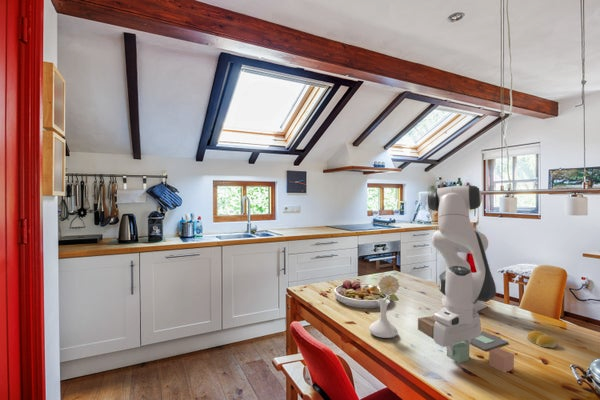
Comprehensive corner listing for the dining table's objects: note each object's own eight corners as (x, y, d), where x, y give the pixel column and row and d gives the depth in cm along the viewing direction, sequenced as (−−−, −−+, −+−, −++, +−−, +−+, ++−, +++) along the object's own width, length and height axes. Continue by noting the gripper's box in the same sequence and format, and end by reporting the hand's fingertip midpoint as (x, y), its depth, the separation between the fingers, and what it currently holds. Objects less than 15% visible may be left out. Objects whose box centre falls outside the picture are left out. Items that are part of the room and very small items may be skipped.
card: (483, 332, 126) (483, 330, 126) (508, 343, 117) (508, 341, 117) (460, 339, 120) (460, 337, 120) (484, 351, 111) (484, 348, 111)
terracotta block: (498, 361, 104) (498, 347, 104) (513, 369, 100) (514, 354, 100) (488, 365, 102) (489, 350, 102) (504, 373, 98) (504, 357, 98)
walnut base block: (433, 327, 131) (433, 316, 131) (447, 335, 124) (447, 323, 124) (417, 329, 129) (418, 318, 129) (431, 338, 121) (431, 326, 121)
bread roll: (548, 350, 113) (548, 340, 112) (523, 339, 121) (523, 329, 121) (562, 346, 115) (562, 336, 115) (537, 336, 124) (537, 326, 124)
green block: (456, 352, 110) (456, 339, 110) (469, 359, 106) (469, 345, 105) (446, 355, 108) (447, 342, 108) (459, 363, 103) (459, 348, 103)
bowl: (402, 303, 161) (403, 288, 161) (362, 315, 144) (363, 298, 144) (361, 288, 186) (361, 275, 186) (323, 297, 169) (323, 283, 169)
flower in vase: (363, 332, 125) (363, 272, 125) (380, 325, 132) (381, 268, 132) (389, 345, 115) (390, 279, 114) (407, 337, 122) (408, 275, 121)
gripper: (470, 306, 114) (469, 343, 114) (430, 315, 105) (429, 354, 105) (486, 312, 108) (485, 350, 108) (446, 322, 99) (445, 364, 100)
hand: (457, 352), depth 107 cm, fingers open, 5 cm apart
